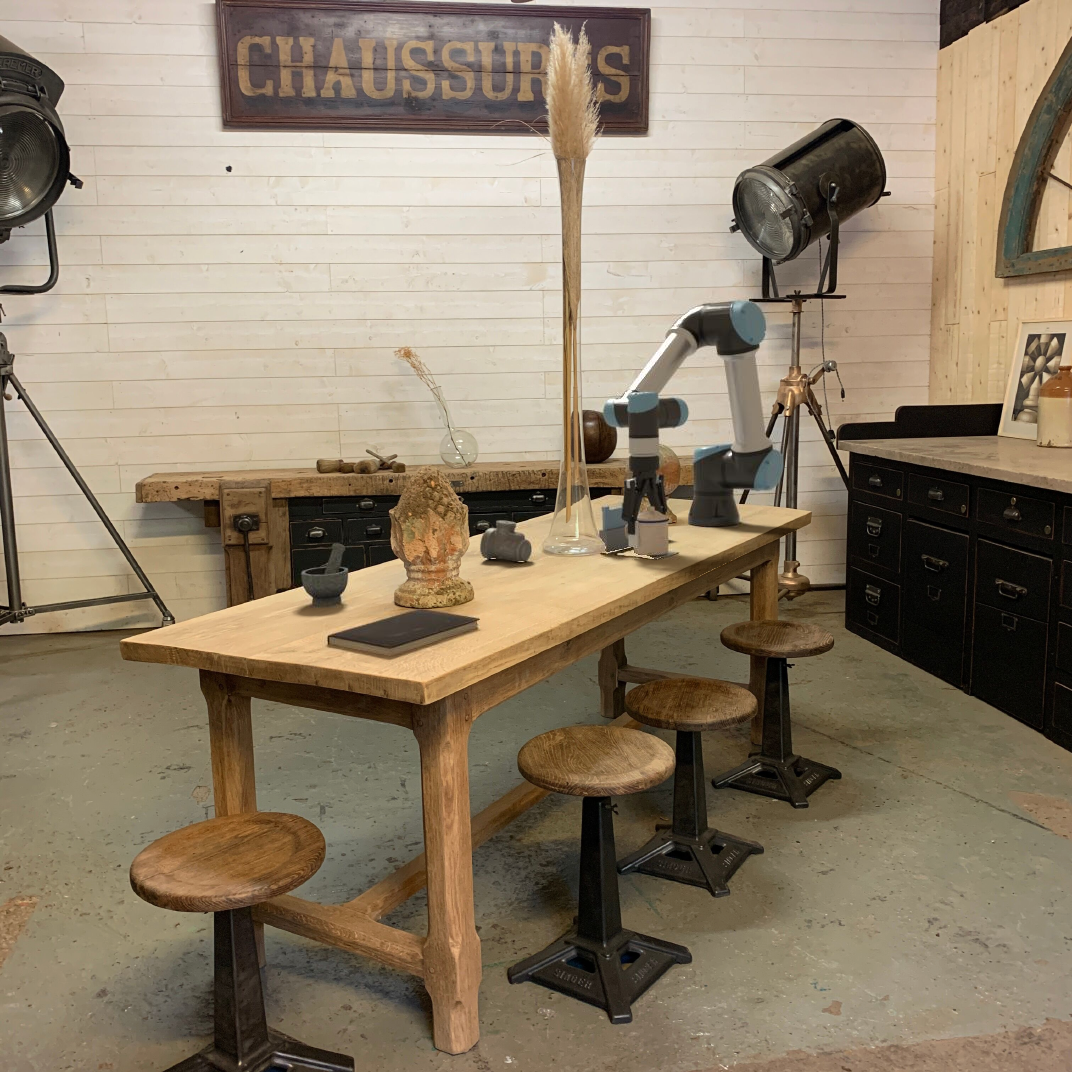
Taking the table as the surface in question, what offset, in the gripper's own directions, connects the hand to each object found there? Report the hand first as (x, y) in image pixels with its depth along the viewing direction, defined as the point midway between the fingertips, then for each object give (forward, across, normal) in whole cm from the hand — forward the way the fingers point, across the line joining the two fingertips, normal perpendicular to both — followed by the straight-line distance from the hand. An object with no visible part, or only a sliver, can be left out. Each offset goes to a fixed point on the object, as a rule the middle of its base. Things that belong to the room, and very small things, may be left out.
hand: (645, 544), depth 259 cm
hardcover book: (+3, +89, +10) cm, 90 cm away
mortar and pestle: (+3, +80, -24) cm, 84 cm away
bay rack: (+3, -8, -2) cm, 9 cm away
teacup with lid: (+2, 0, 0) cm, 2 cm away
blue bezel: (-3, 0, -10) cm, 10 cm away
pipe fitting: (+3, +25, -24) cm, 35 cm away
